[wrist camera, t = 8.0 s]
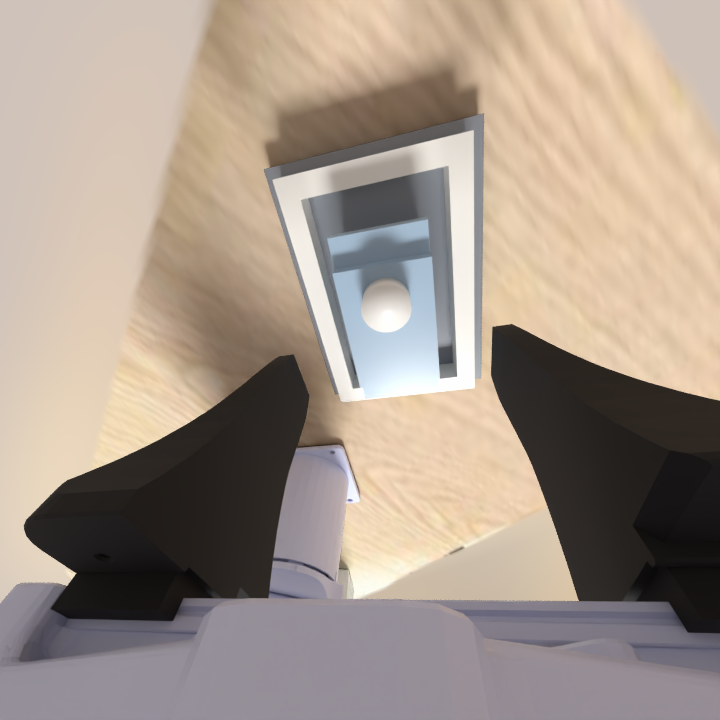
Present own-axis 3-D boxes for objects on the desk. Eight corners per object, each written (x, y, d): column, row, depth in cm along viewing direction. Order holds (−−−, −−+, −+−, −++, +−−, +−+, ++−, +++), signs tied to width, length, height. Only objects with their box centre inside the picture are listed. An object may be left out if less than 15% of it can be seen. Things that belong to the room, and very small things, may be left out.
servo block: (368, 359, 20) (363, 419, 16) (339, 221, 16) (319, 248, 11) (430, 351, 19) (444, 412, 15) (419, 205, 15) (433, 227, 10)
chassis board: (337, 385, 23) (332, 408, 21) (270, 168, 15) (252, 170, 13) (477, 369, 21) (487, 392, 19) (477, 116, 14) (494, 108, 12)
